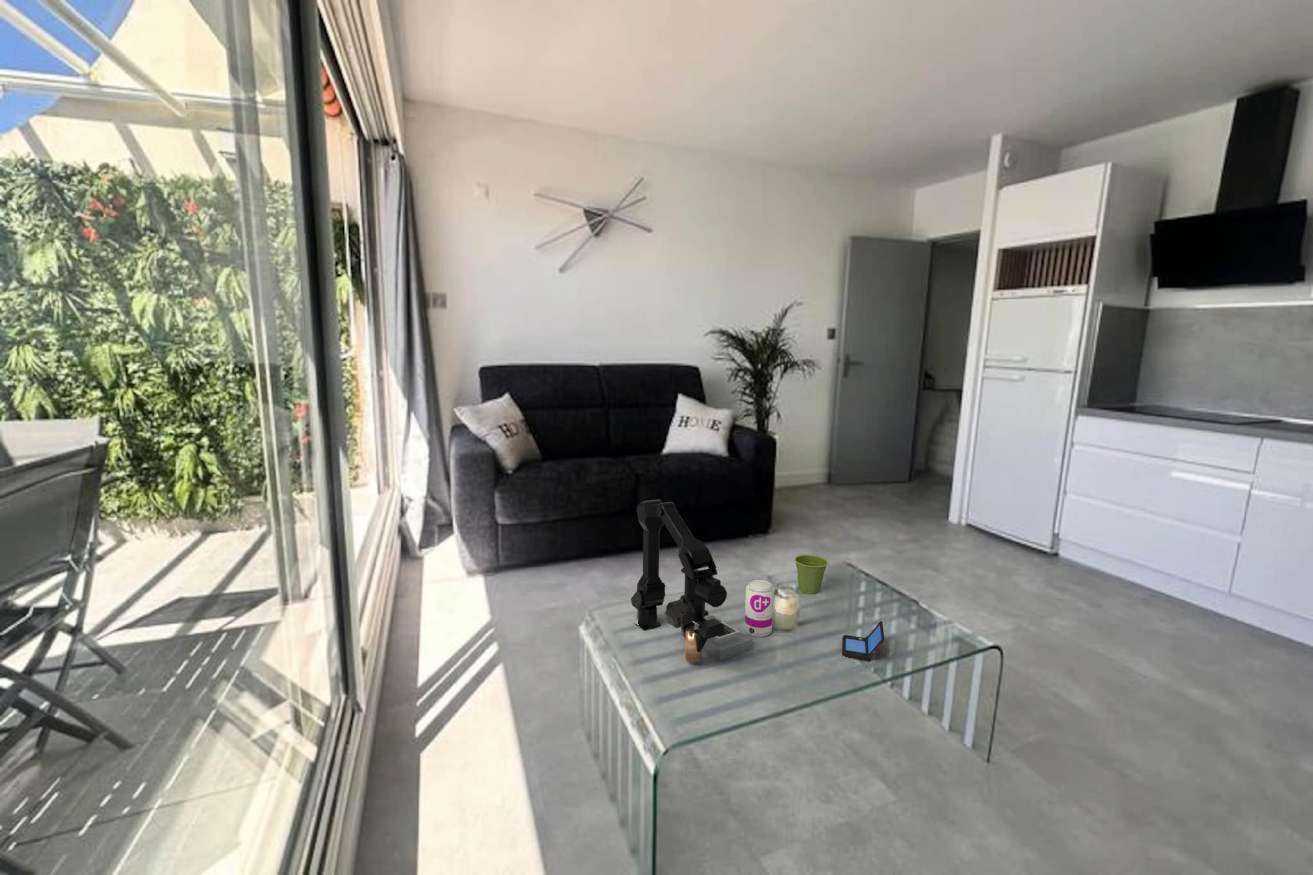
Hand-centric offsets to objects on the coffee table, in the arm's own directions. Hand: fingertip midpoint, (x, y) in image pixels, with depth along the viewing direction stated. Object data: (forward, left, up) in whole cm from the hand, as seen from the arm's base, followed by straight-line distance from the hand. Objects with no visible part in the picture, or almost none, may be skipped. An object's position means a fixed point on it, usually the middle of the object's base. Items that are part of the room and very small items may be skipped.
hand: (693, 647), depth 156 cm
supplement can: (-4, +28, -5) cm, 29 cm away
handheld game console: (+20, +45, -5) cm, 50 cm away
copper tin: (0, 0, -3) cm, 3 cm away
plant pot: (-17, +66, -5) cm, 68 cm away
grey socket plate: (-6, +13, -4) cm, 15 cm away
